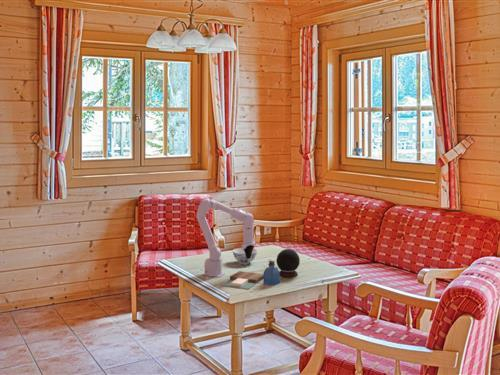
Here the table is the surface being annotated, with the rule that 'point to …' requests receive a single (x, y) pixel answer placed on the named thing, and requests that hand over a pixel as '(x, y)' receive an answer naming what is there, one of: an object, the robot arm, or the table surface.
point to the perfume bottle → (271, 274)
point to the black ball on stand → (288, 263)
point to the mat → (246, 286)
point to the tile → (239, 282)
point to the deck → (248, 276)
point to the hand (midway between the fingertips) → (248, 258)
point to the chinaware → (243, 255)
